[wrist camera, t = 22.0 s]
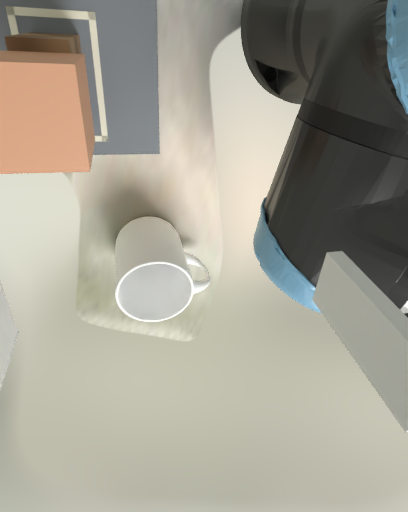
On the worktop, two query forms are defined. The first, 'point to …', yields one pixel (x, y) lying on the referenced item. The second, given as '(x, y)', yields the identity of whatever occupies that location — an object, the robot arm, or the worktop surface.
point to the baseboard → (105, 62)
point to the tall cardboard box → (44, 42)
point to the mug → (153, 271)
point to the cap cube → (44, 113)
